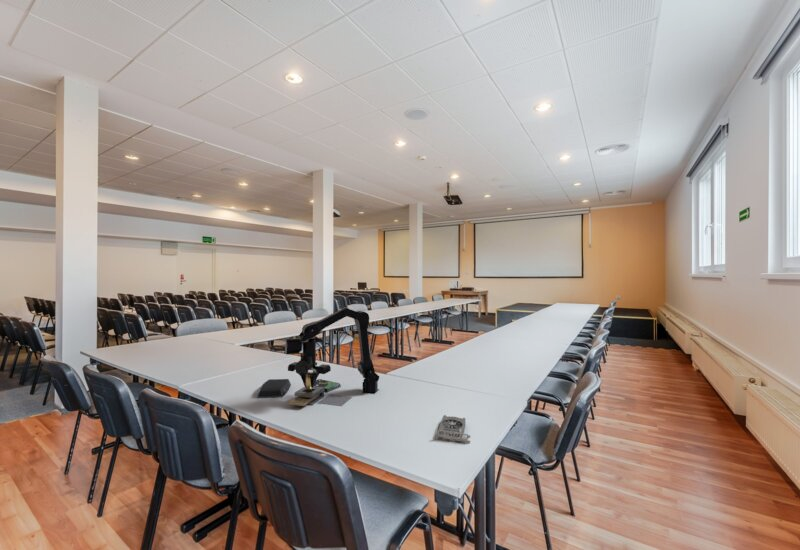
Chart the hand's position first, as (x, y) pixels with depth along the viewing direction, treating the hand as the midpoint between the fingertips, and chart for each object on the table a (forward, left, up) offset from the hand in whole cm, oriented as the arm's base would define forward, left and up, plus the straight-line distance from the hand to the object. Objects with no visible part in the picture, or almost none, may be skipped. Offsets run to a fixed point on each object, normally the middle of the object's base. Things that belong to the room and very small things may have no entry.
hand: (309, 387), depth 155 cm
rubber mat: (-11, -4, -6) cm, 13 cm away
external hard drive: (+24, -8, -7) cm, 26 cm away
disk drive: (+3, -19, -7) cm, 21 cm away
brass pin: (0, 0, -4) cm, 4 cm away
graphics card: (-67, +12, -7) cm, 68 cm away
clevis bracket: (0, +2, -7) cm, 7 cm away
